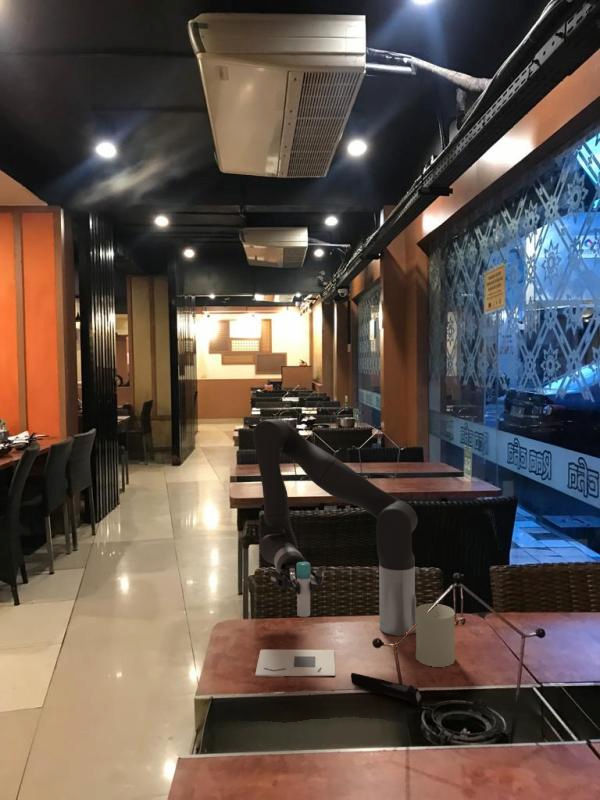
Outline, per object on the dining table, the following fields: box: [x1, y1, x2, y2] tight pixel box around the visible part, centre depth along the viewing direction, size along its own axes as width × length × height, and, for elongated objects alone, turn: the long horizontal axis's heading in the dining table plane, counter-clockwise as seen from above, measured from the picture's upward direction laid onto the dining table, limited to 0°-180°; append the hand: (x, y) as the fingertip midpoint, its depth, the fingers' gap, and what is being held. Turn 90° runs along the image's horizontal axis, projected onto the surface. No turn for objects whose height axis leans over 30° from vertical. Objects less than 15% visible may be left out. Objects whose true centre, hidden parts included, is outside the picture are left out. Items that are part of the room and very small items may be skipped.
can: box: [414, 603, 456, 668], centre depth 143 cm, size 9×9×12 cm
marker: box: [296, 561, 311, 618], centre depth 141 cm, size 3×3×12 cm
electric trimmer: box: [350, 672, 423, 706], centre depth 128 cm, size 4×16×3 cm, turn 61°
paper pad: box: [254, 649, 336, 677], centre depth 142 cm, size 18×12×1 cm, turn 88°
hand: (306, 589), depth 138 cm, fingers closed on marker, 3 cm apart
